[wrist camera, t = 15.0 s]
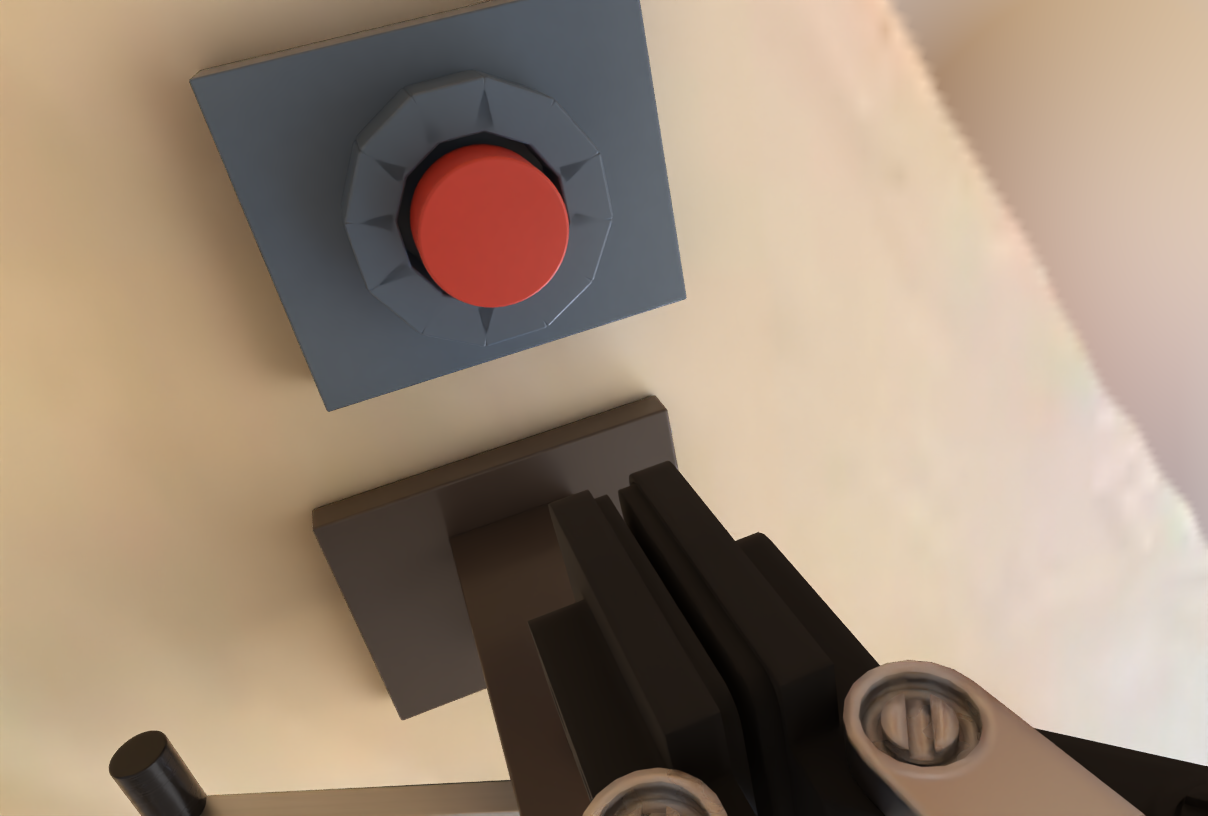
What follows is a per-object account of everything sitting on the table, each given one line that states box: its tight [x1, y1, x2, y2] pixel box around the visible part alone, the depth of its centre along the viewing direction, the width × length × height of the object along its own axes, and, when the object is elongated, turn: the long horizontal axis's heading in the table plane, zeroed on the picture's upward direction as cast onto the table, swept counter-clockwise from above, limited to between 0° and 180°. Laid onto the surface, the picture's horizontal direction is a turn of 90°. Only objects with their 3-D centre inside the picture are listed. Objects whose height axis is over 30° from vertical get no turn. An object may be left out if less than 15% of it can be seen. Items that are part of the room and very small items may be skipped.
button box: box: [189, 0, 686, 412], centre depth 23 cm, size 11×9×4 cm
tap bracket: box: [312, 396, 678, 816], centre depth 25 cm, size 12×9×13 cm
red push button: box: [410, 144, 569, 307], centre depth 21 cm, size 4×4×2 cm
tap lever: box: [109, 731, 520, 816], centre depth 22 cm, size 14×6×2 cm, turn 102°
